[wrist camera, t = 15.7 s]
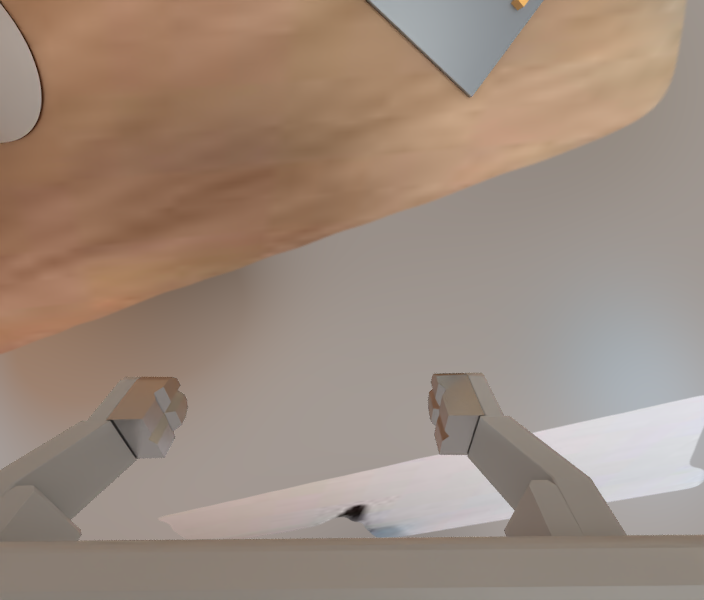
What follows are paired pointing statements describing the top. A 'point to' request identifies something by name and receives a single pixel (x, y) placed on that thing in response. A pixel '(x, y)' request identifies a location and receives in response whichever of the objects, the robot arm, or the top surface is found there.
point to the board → (460, 32)
